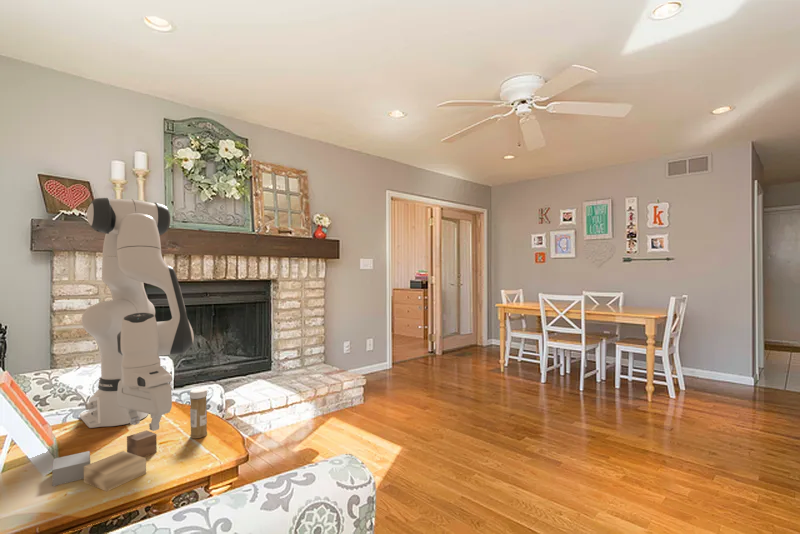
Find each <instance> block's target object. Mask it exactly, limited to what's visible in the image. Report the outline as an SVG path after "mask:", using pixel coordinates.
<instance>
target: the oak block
mask: <svg viewBox="0 0 800 534" xmlns="http://www.w3.org/2000/svg"><path fill="white" fill-rule="evenodd" d="M146 474H147V457H141V456H137V455H134V454H131V453H128V452H127V451H125V450H122V451H120V452H117V453H115V454H112V455H110V456H107V457H105V458H102V459H100V460H96V461H94V462H90V464H89V465H86V466H84V479H83V483H84V484H87V485H90V486H93V487H95V488H97V489H100V490H103V491H104V492H109V491H111V490H113V489H115V488H118V487H120V486H121V485H124V484H126V483H128V482H131V481H133V480H135V479H137V478H139V477H141V476H143V475H146Z"/></svg>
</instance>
